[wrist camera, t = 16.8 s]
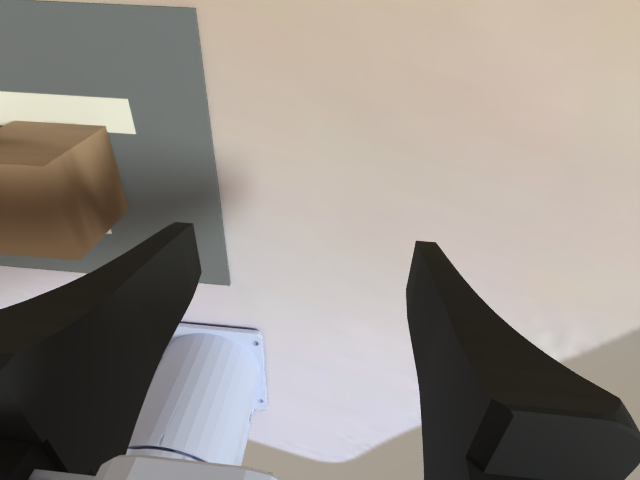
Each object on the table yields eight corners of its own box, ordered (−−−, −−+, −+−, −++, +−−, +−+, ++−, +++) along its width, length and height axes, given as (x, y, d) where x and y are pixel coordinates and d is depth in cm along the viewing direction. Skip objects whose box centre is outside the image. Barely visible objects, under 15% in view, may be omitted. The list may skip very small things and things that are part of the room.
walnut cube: (129, 208, 24) (80, 260, 20) (48, 203, 24) (-16, 252, 20) (105, 126, 21) (43, 166, 17) (14, 120, 22) (-68, 159, 17)
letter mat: (230, 283, 27) (229, 286, 27) (2, 263, 28) (-1, 266, 28) (195, 7, 18) (193, 8, 18) (-142, -8, 19) (-149, -8, 19)
